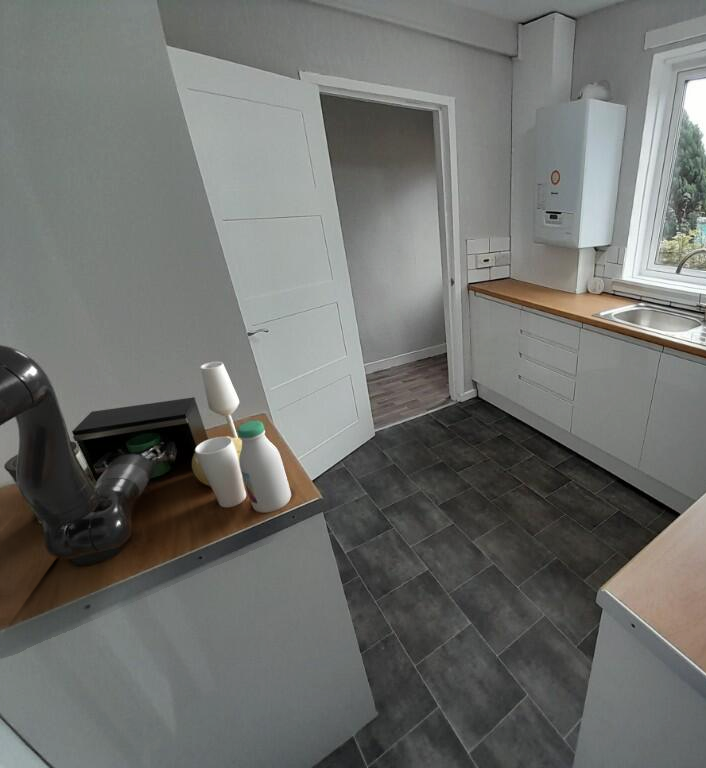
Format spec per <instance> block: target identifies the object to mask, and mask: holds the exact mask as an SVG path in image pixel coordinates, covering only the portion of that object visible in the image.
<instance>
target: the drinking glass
mask: <svg viewBox="0 0 706 768" xmlns="http://www.w3.org/2000/svg"><path fill="white" fill-rule="evenodd" d="M229 437H230V436H228V437H226V436H218V437H217V436H216V437H213V438H208V440H206V441H204V442H202V443H200V444H199V445H198V446H197V447H196V448H195V453H196V456H197V459H198V462H199V465H200V467H201V469H202V471H203V473H204V475H205V477H206V479H207V481H208V482H209V484H210V486H209V487H210V488H211V490H212V492H213V494H214V496H215V498H216V500H217V503H218V505H219V506H220V507H221V508H233V507H236V506H239V505H240V504H241V503H243V502H244V501H245V500H246V498H247V490H246V487H245V482H244V479H243V478H242V473H241V469H240V464H239V459H238V455H237V451H236V448H235V446H234V443H233V441H232V439H231V438H229Z"/></svg>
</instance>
